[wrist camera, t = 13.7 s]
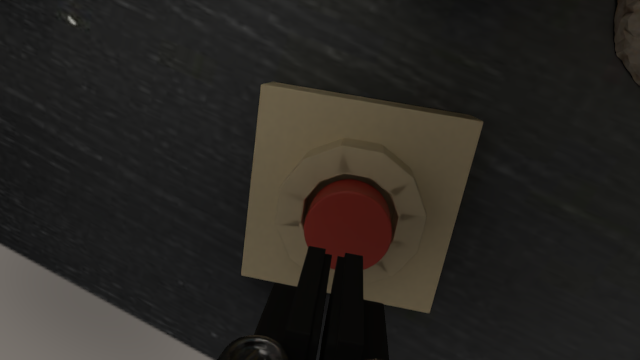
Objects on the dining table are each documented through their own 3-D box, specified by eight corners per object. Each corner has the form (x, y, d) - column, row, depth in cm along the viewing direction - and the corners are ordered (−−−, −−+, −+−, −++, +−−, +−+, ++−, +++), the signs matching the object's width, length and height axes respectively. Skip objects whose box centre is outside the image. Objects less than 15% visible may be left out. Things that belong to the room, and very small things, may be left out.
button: (381, 260, 18) (382, 280, 16) (304, 245, 18) (297, 263, 16) (397, 186, 17) (401, 200, 15) (315, 171, 17) (310, 183, 15)
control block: (423, 290, 22) (435, 337, 18) (252, 256, 23) (229, 295, 19) (471, 114, 19) (497, 128, 15) (272, 81, 20) (249, 85, 16)
